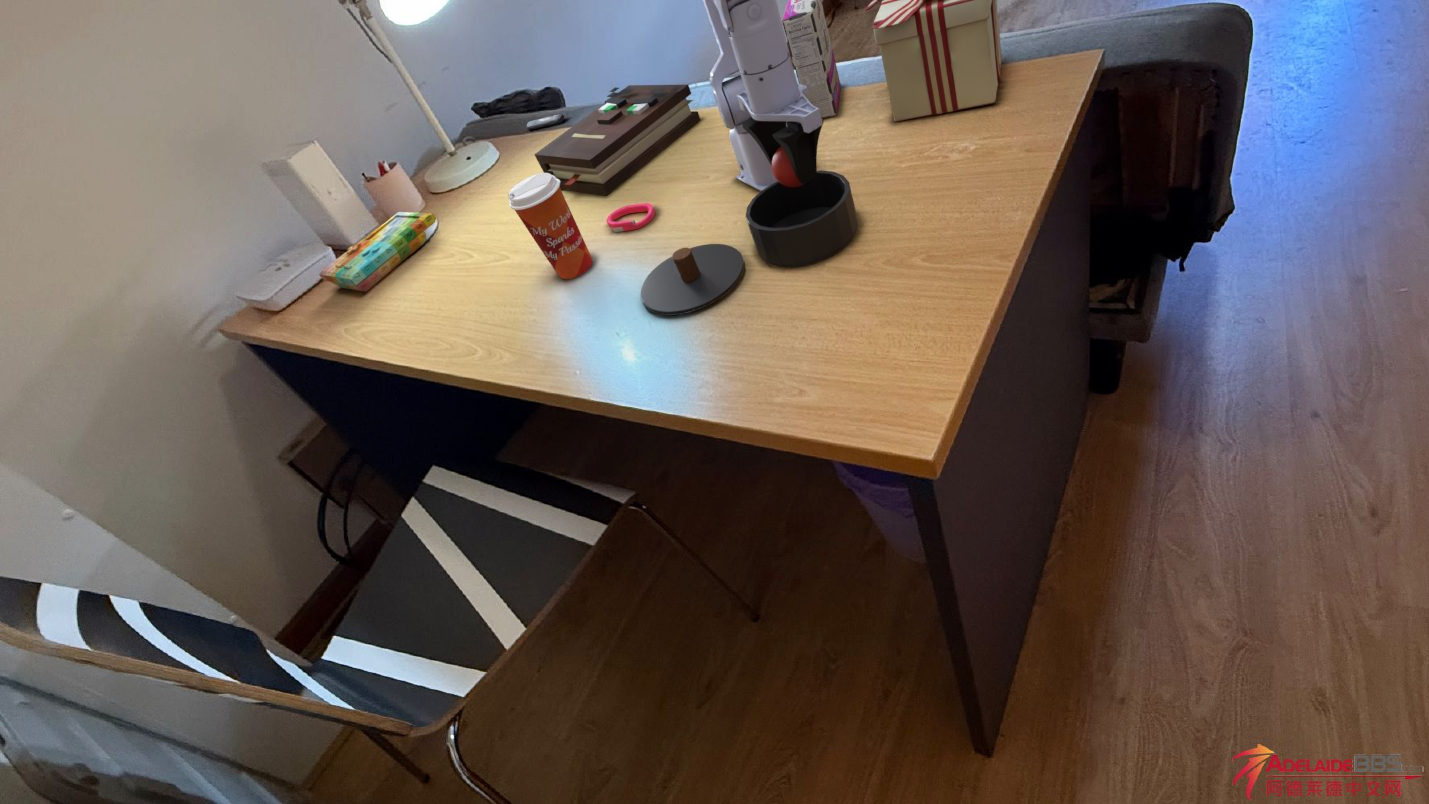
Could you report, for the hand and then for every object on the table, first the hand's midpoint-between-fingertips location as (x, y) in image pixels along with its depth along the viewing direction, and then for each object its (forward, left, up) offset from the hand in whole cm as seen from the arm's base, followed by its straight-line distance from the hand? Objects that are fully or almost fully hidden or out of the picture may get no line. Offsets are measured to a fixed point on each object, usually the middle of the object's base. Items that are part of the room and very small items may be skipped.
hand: (795, 173), depth 87 cm
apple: (0, 0, +1) cm, 1 cm away
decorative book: (-55, -4, -9) cm, 56 cm away
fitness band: (-30, -14, -9) cm, 34 cm away
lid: (-5, -16, -8) cm, 18 cm away
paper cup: (-26, -26, -9) cm, 38 cm away
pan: (0, -1, -8) cm, 9 cm away
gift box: (-13, +33, -9) cm, 37 cm away
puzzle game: (-68, -51, -9) cm, 85 cm away
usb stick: (-93, -8, -9) cm, 94 cm away
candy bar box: (-30, +24, -9) cm, 39 cm away
